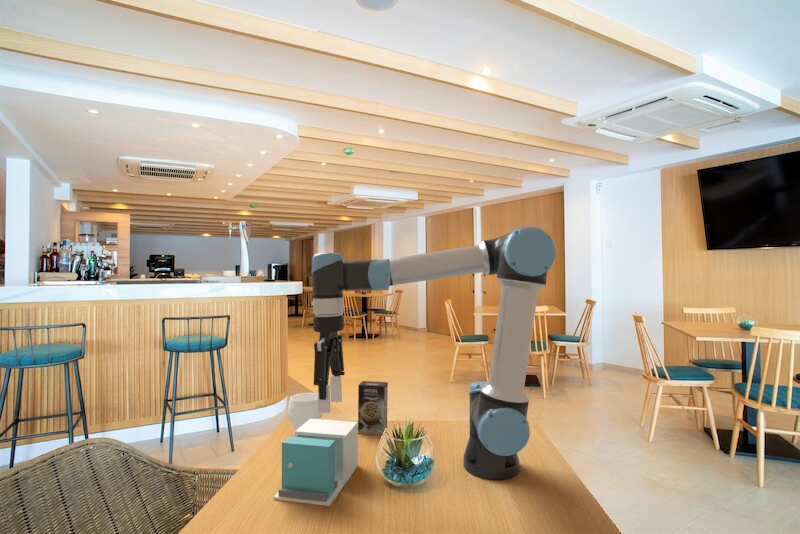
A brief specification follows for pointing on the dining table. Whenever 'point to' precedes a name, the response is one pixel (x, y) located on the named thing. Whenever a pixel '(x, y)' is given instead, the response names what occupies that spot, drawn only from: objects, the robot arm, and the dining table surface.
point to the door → (308, 465)
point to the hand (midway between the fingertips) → (330, 406)
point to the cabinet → (344, 457)
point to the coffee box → (372, 407)
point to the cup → (303, 409)
